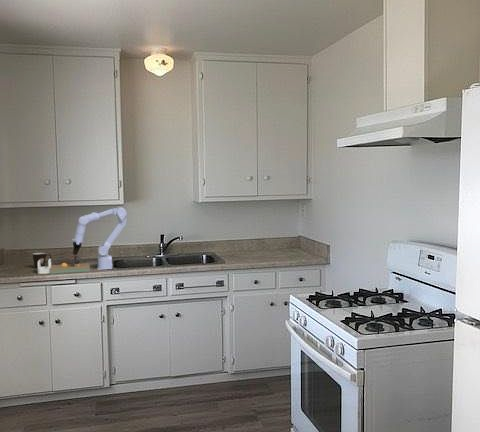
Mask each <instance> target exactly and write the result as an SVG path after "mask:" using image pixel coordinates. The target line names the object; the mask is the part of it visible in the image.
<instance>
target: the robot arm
mask: <svg viewBox="0 0 480 432" xmlns="http://www.w3.org/2000/svg"><path fill="white" fill-rule="evenodd" d="M107 216H117V219H118V220H117V221H118V222H117V224H116V226H114V228H113V230H112V231H111V232H110V234H108V237H107V239H105V241H104V242H103V243H102V244H101V245H99V246H98V247H97V253H98V254H97V268H96V269H97V270H98V271H99V270H100V271H102V270H112V269H113V258H112V255H109V249H110V248H111V246H112V245H113V243H114V242H115V240H116V239H117V238H118V236H119V235H120V234H121V232H122V230H124V228H125V227H126V225H127V219H128V218H127V217H128V213H127V211H126V209H125V208H124V207H122V206H119V207H115V208H114V207H113V208H110V209H108V210H105V211H102V212H94V211H92V212H91V213H89V214H84V215H82V216H80V217H79V218H78V221H77V222H78V223H77V226H76V229H75V233H74V237H73V238H72V239H71V241H73V243H72V246H73V252H72V254H73V255H74V256H78V253H79V251H80V249H81V247H82V246H83V245H82V243H83V242H84V238H85V232H86V227H87V224H91V223H94V222H97V221H99V219H100V218H104V217H107Z"/></svg>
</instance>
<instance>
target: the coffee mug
mask: <svg viewBox="0 0 480 432" xmlns="http://www.w3.org/2000/svg"><path fill="white" fill-rule="evenodd" d="M47 256H49V259H51V260H52V255H51V254H47V253H46V252H33V253H32V258H33V265H34V269H37V270H38V261H39V260H40V265H41V267H46V263H48V260H47V259H46V258H47ZM46 260H47V261H46Z"/></svg>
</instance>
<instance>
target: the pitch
mask: <svg viewBox="0 0 480 432" xmlns="http://www.w3.org/2000/svg"><path fill="white" fill-rule="evenodd" d="M47 261H48V262H47V263H48V265H47V266H45V267H41V265H40V260H39V261H38V269H37V275H42V274H45V275H46V274H64V273H66V274H67V273H81V272H91V266H90V263H89V262H86V263H85V262H84V263H79V266H75V263H68V264H67V263H66V264H67V267H61V265H62V264H52V258H51V259H50V258H49V259H48V260H47Z"/></svg>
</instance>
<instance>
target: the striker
mask: <svg viewBox="0 0 480 432" xmlns="http://www.w3.org/2000/svg"><path fill="white" fill-rule="evenodd" d="M73 257H74V264H75V266H79V264H80V255H74V256H73Z"/></svg>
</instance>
